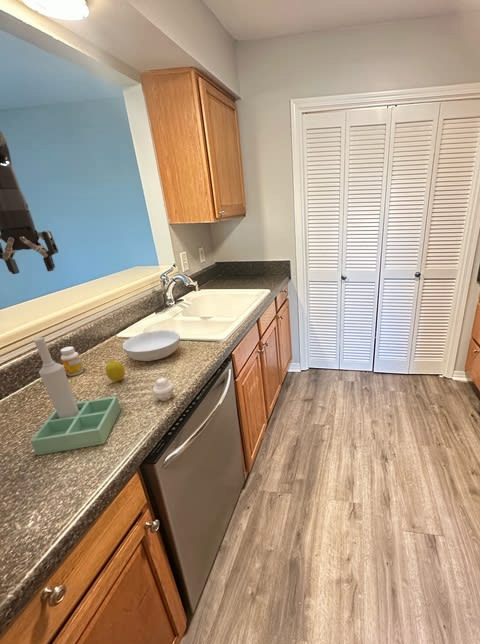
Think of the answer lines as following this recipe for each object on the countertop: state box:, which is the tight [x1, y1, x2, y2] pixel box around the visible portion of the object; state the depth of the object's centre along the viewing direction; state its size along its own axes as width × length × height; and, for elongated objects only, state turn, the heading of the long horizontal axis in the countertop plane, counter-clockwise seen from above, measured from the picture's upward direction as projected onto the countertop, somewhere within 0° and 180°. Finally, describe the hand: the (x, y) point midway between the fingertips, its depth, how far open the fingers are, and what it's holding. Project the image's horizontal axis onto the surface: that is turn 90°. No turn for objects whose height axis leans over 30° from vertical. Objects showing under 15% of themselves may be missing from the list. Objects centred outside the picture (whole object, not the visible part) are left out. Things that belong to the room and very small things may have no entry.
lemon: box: [105, 360, 126, 382], centre depth 110 cm, size 6×6×8 cm
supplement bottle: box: [60, 346, 85, 377], centre depth 117 cm, size 5×5×10 cm
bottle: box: [33, 336, 80, 419], centre depth 85 cm, size 5×5×25 cm
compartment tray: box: [29, 396, 122, 456], centre depth 87 cm, size 15×15×4 cm
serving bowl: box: [122, 329, 181, 362], centre depth 128 cm, size 21×21×7 cm
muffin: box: [152, 377, 175, 402], centre depth 99 cm, size 6×6×7 cm
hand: (33, 272), depth 89 cm, fingers open, 8 cm apart
